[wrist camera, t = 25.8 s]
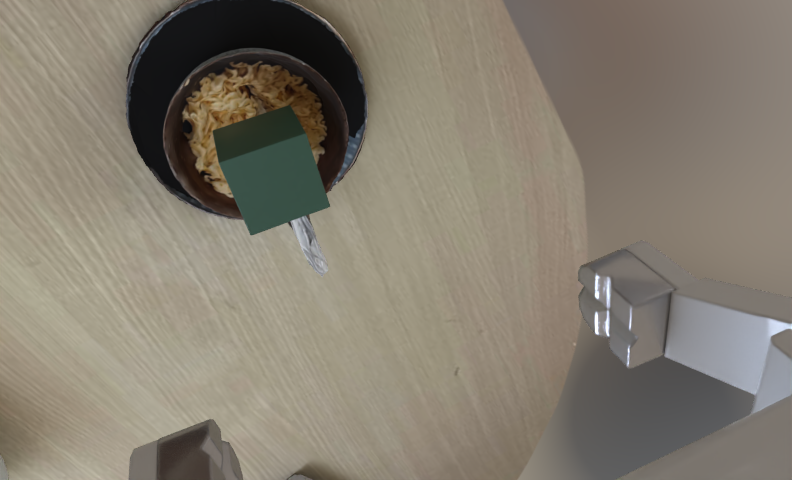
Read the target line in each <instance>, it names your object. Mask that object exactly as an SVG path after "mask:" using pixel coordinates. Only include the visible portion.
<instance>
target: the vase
mask: <svg viewBox="0 0 792 480" xmlns="http://www.w3.org/2000/svg"><path fill="white" fill-rule="evenodd" d="M0 480H9V475H8V471H7V467H6V464H5V462H4V460H3V458H2V456H1V454H0Z"/></svg>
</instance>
